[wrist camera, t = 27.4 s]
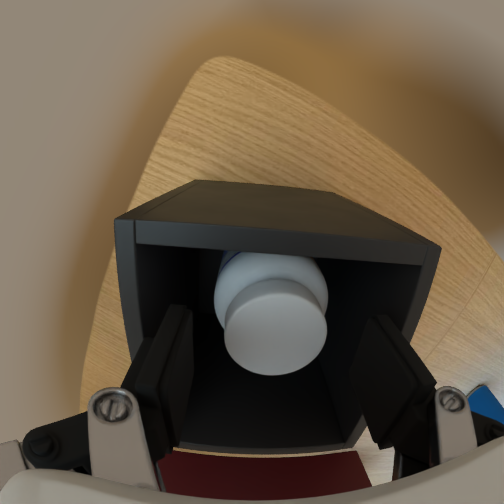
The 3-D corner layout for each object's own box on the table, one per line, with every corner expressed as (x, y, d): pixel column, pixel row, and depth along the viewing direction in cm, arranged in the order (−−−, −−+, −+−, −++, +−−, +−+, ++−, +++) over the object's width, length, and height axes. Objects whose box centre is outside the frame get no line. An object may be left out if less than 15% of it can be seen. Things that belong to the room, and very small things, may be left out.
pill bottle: (318, 246, 19) (374, 323, 10) (269, 301, 21) (285, 402, 11) (256, 197, 18) (268, 242, 9) (208, 259, 19) (180, 348, 10)
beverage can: (454, 407, 35) (481, 450, 24) (476, 382, 33) (506, 424, 22) (469, 406, 36) (494, 445, 24) (489, 383, 34) (517, 420, 23)
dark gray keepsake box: (194, 179, 22) (112, 218, 8) (333, 192, 23) (443, 247, 9) (191, 314, 26) (153, 443, 12) (310, 321, 27) (352, 448, 13)
